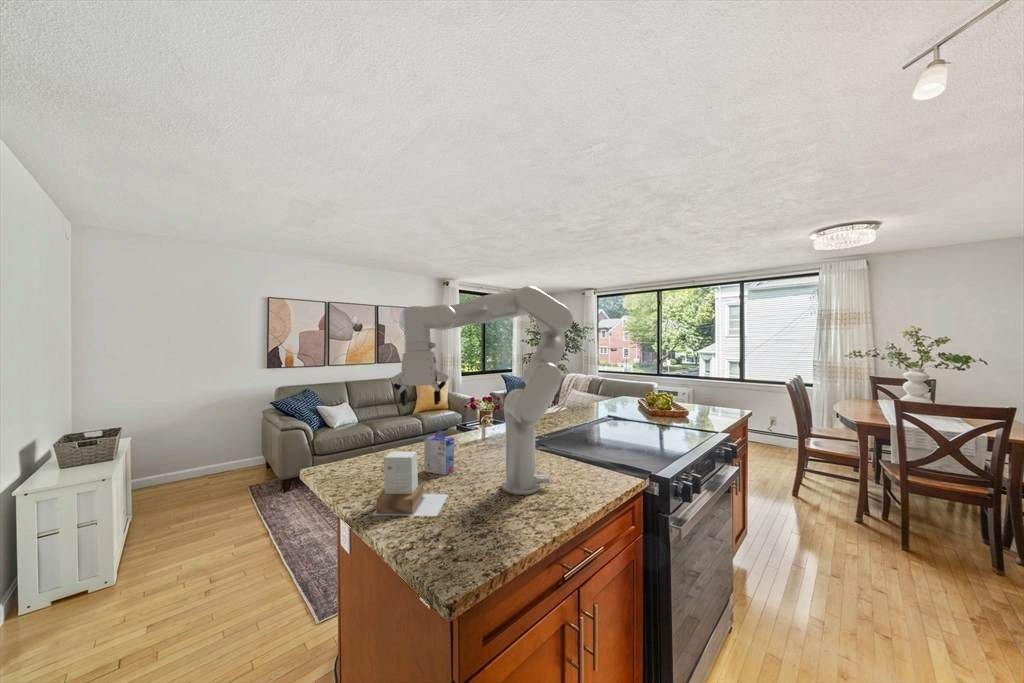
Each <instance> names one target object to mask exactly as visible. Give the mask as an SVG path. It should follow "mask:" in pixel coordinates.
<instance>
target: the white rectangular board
mask: <svg viewBox="0 0 1024 683" xmlns="http://www.w3.org/2000/svg"><path fill="white" fill-rule="evenodd" d="M448 496H449V493H448V494H445V493H444V494H443V493H442V494H438V493H423V499H422V500H421V502H420V503H419V505H418V506H417V508H416V509H415V511H414V512H413V514H405V513H377V508H376V509H375V510H374V511H373V513H372V514H371V515H372V516H416V517H417V516H418V517H420V516H421V517H437V516H438V515H439V513H440V511H441V509H442V508H443V505H444V503H445V502H446V500H447V498H448Z"/></svg>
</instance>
